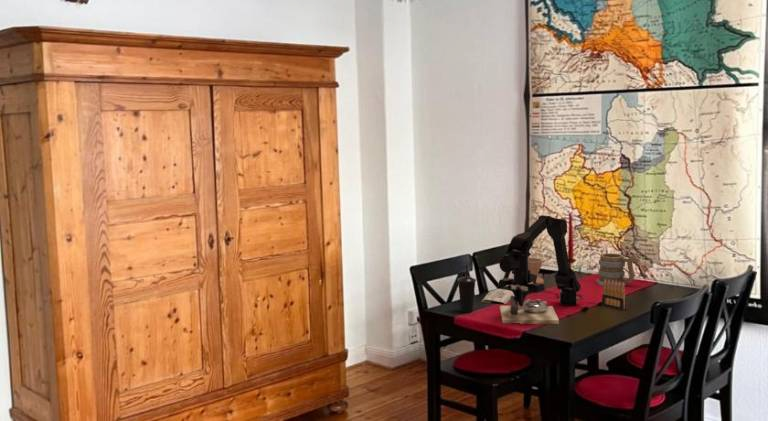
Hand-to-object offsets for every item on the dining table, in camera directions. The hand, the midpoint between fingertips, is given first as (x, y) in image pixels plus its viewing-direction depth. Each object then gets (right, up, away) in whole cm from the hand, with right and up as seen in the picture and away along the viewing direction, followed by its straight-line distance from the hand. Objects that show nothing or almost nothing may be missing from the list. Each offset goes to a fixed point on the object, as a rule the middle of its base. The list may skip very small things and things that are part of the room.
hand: (521, 306), depth 319 cm
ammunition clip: (+42, -3, +17) cm, 45 cm away
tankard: (+56, +3, +58) cm, 80 cm away
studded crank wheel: (+4, -3, +6) cm, 8 cm away
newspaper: (-4, -2, +37) cm, 38 cm away
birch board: (+4, -5, +6) cm, 8 cm away
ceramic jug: (+12, +1, +53) cm, 54 cm away
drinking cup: (-20, -4, +15) cm, 26 cm away
